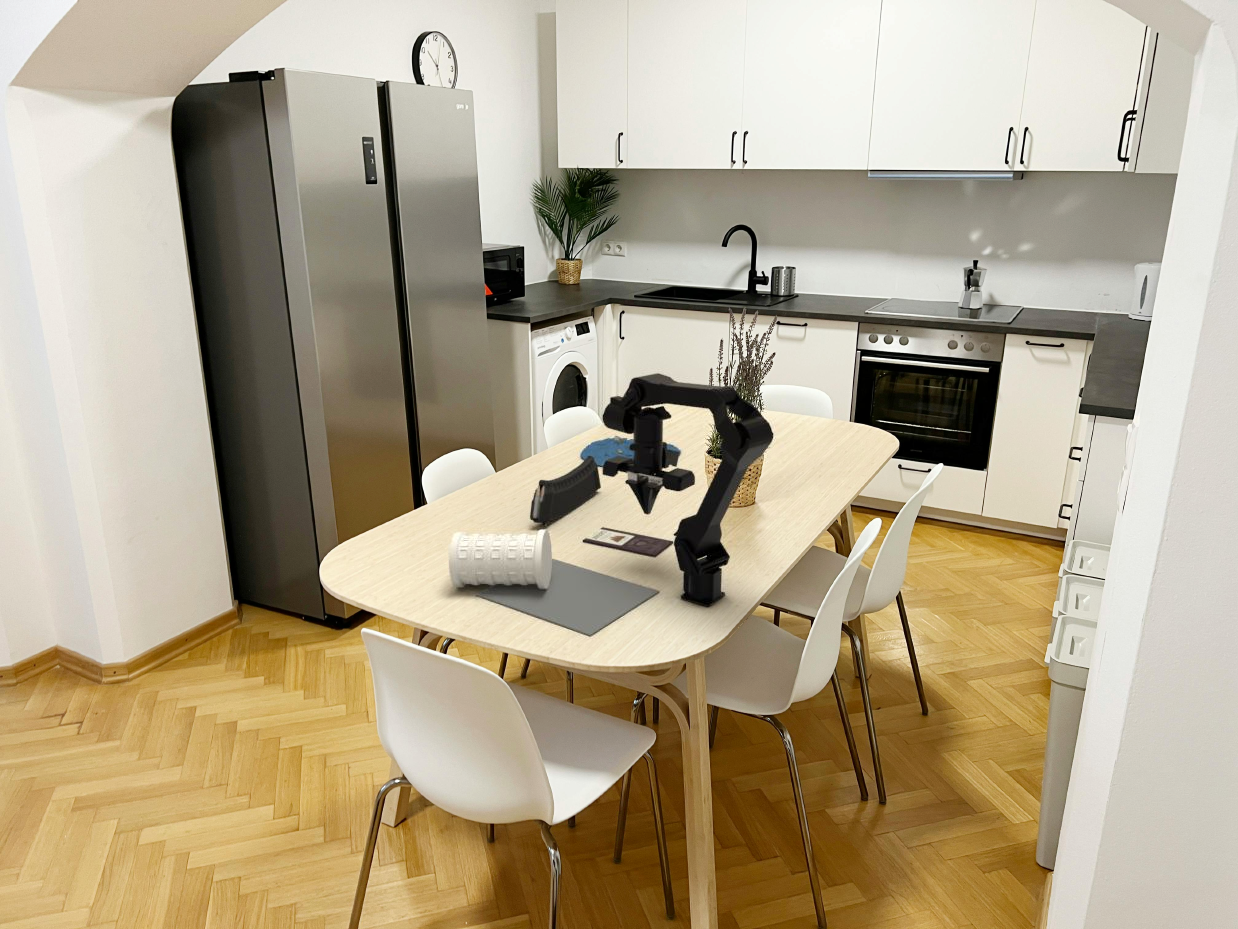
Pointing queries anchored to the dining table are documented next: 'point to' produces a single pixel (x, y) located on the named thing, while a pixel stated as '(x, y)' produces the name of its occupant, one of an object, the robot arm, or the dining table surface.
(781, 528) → the dining table surface
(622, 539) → the chocolate bar
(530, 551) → the decorative container
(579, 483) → the magazine
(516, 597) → the rubber mat
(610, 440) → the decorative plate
